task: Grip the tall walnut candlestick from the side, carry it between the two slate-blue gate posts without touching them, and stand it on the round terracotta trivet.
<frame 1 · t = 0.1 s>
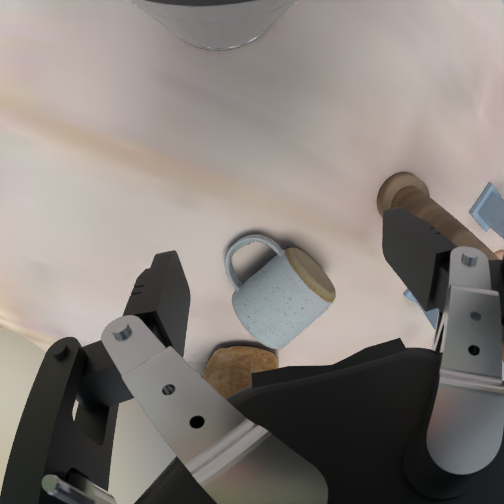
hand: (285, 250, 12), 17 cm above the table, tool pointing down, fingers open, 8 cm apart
gate: (457, 247, 34), on the table
candlestick: (400, 197, 30), on the table
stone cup: (230, 371, 43), on the table
ceramic mug: (269, 268, 34), on the table
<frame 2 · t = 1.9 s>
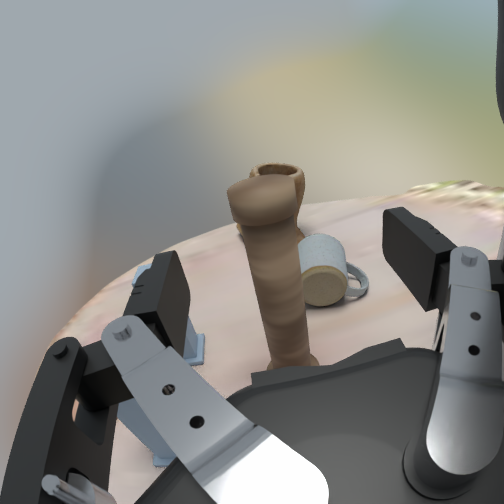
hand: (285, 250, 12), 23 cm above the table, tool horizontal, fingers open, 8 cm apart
gate: (182, 394, 33), on the table
candlestick: (294, 377, 33), on the table
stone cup: (277, 240, 61), on the table
ceramic mug: (331, 290, 45), on the table
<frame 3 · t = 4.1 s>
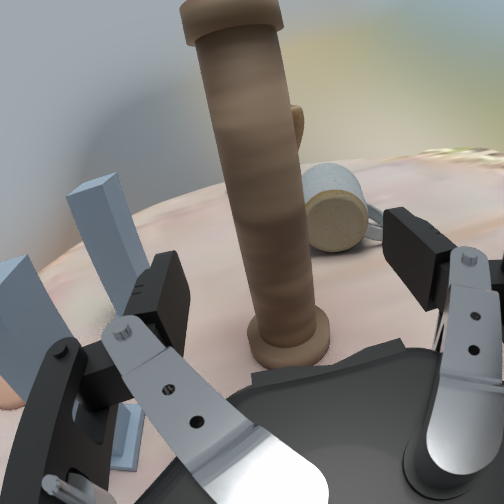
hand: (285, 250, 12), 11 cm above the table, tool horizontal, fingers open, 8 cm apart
trivet: (23, 367, 23), on the table
gate: (127, 364, 22), on the table
candlestick: (290, 341, 22), on the table
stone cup: (272, 193, 50), on the table
ceramic mug: (345, 237, 34), on the table
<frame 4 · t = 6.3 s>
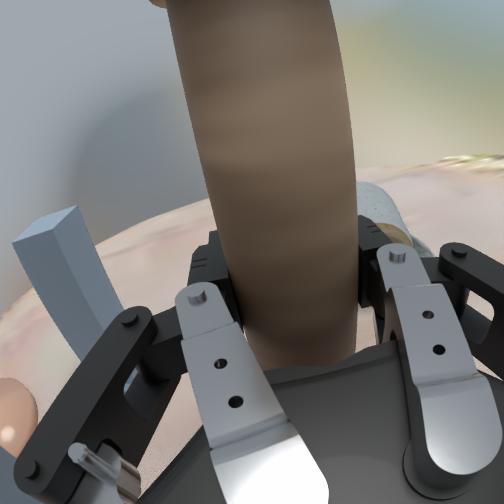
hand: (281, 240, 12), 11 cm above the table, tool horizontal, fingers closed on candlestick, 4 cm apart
gate: (107, 447, 16), on the table
candlestick: (311, 432, 15), on the table, touching gripper
ceramic mug: (378, 273, 27), on the table
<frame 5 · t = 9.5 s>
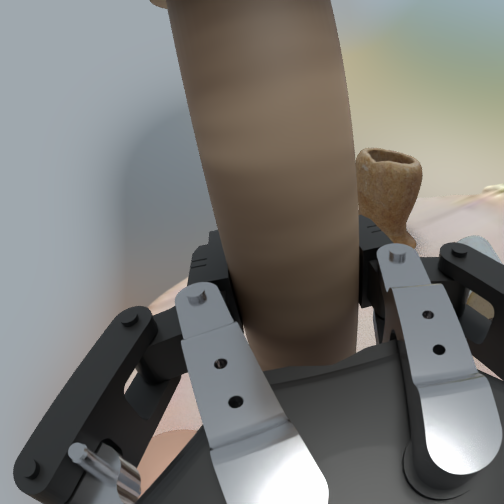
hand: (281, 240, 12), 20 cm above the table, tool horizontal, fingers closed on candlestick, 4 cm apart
trivet: (182, 485, 20), on the table
candlestick: (311, 433, 15), point 9 cm above the table, touching gripper
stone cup: (376, 242, 48), on the table
ceramic mug: (479, 301, 31), on the table
when the fingers open (13 cm above the table, at t = 12.7 s): candlestick stays where it is, resting on trivet.
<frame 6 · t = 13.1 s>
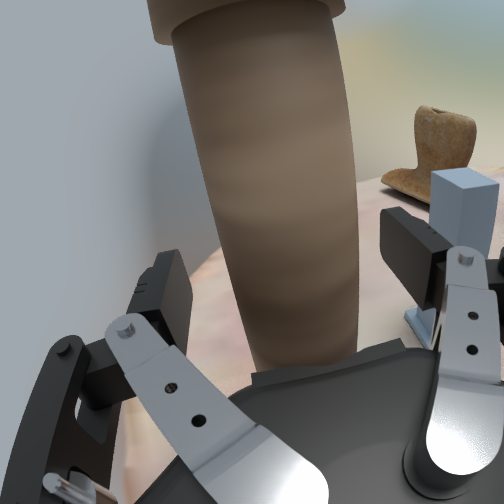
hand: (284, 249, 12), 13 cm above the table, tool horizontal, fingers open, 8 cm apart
gate: (480, 386, 16), on the table
candlestick: (313, 442, 16), point 1 cm above the table, touching trivet
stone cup: (433, 198, 44), on the table
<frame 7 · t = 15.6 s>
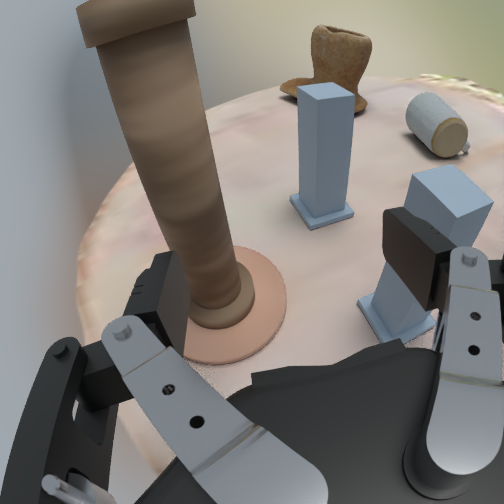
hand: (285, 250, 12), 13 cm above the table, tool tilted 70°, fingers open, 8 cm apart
trivet: (219, 302, 26), on the table
gate: (355, 254, 27), on the table
candlestick: (219, 297, 25), point 1 cm above the table, touching trivet
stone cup: (329, 103, 51), on the table
ceramic mug: (438, 146, 40), on the table
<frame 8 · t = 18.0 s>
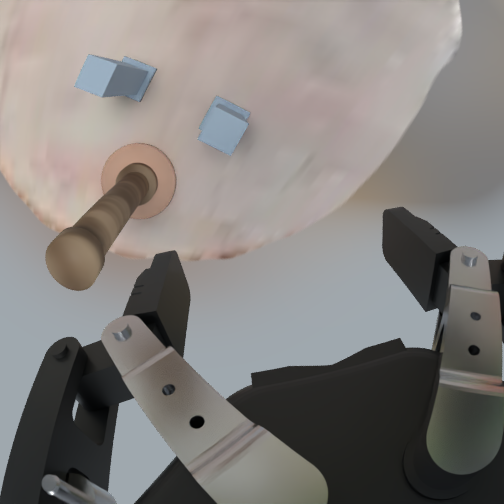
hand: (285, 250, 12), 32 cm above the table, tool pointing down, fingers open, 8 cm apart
trivet: (138, 180, 41), on the table
gate: (177, 97, 36), on the table
candlestick: (137, 182, 40), point 1 cm above the table, touching trivet
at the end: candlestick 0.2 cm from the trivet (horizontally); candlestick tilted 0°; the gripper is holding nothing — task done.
